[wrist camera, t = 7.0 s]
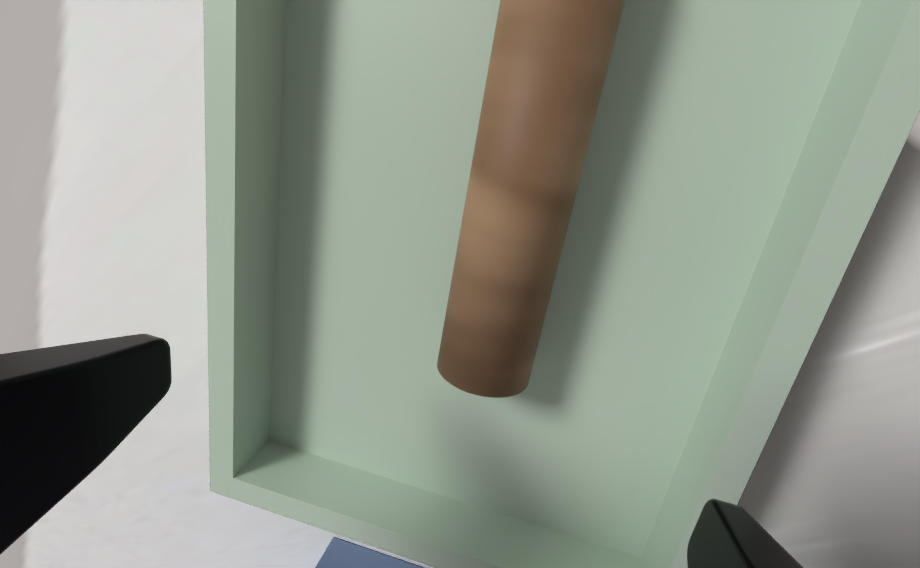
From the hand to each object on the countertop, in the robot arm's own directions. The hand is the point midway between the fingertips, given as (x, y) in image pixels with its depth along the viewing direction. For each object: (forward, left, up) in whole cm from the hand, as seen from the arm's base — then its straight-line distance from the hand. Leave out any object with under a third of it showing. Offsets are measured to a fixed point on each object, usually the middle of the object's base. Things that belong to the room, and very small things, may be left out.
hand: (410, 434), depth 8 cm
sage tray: (0, -4, -7) cm, 7 cm away
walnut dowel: (0, -4, -5) cm, 6 cm away
